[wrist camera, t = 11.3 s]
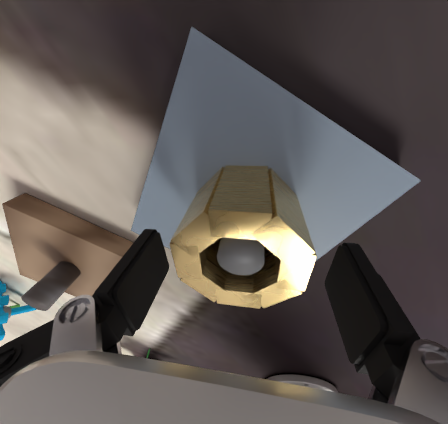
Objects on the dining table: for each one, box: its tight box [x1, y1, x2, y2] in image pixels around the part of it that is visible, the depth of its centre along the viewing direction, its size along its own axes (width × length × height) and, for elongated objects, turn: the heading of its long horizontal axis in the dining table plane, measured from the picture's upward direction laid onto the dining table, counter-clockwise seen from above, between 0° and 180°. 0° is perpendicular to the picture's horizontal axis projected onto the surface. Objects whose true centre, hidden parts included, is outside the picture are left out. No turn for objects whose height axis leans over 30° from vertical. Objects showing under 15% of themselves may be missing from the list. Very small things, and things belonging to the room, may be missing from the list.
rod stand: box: [2, 193, 133, 311], centre depth 20 cm, size 12×12×6 cm
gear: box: [0, 281, 36, 340], centre depth 30 cm, size 11×6×10 cm
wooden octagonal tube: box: [170, 165, 316, 309], centre depth 11 cm, size 7×7×5 cm
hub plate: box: [131, 27, 421, 275], centre depth 12 cm, size 14×14×6 cm
